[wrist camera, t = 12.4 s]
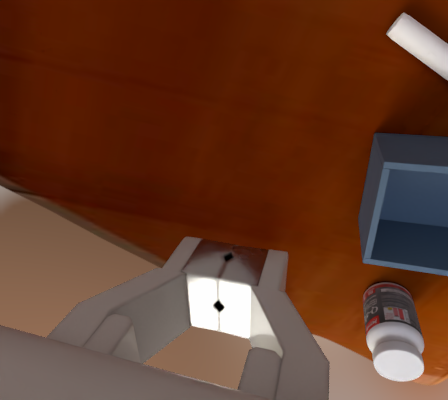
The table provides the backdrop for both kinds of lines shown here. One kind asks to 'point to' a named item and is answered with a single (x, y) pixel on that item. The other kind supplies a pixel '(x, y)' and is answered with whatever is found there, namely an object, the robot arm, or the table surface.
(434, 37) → the marker
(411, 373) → the pill bottle
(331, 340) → the table surface
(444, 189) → the blue box
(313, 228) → the table surface
